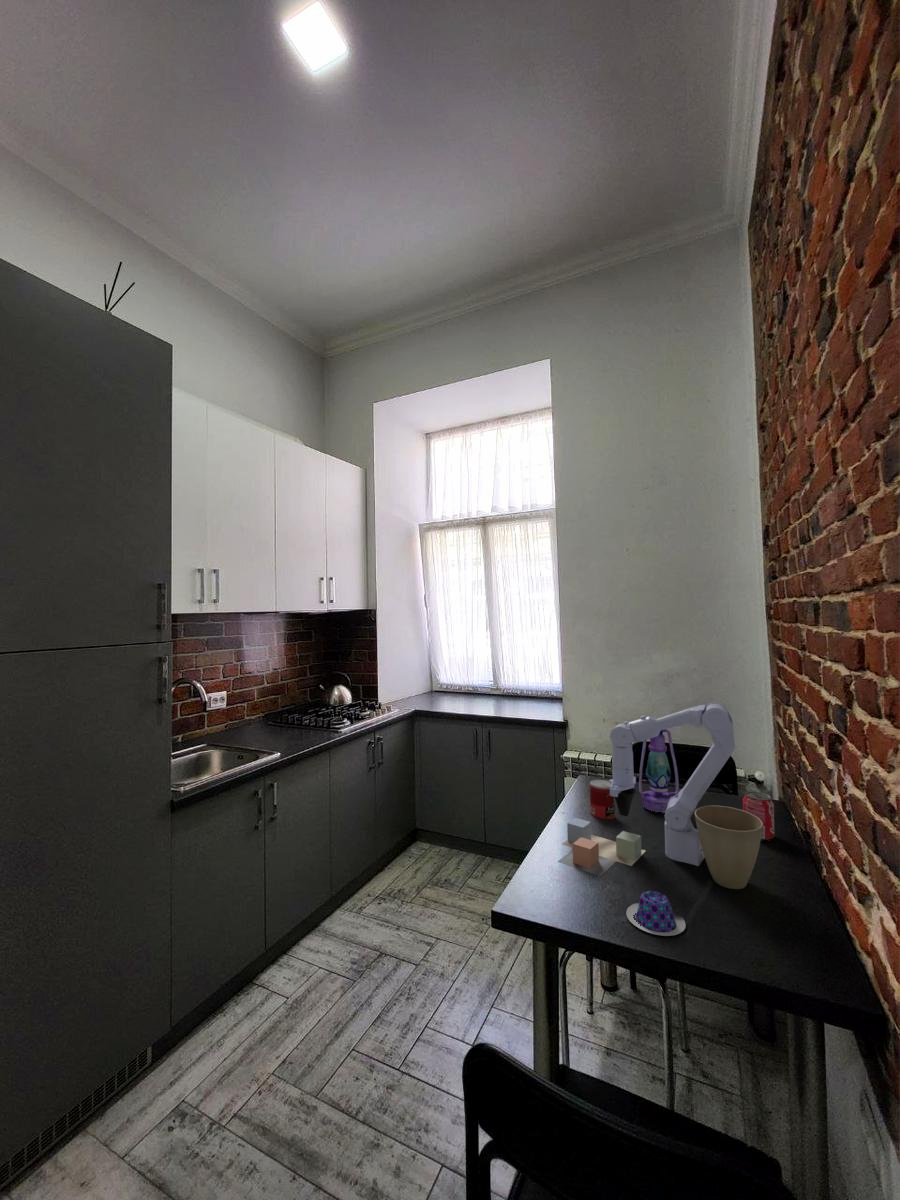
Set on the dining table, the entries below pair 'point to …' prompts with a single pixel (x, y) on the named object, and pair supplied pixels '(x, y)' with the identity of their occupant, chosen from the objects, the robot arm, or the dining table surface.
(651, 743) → the lantern
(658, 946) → the dining table surface
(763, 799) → the beverage can
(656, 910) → the patterned fedora hat
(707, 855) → the plant pot
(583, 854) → the terracotta block
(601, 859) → the board
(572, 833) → the blue block
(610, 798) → the canned food
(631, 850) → the sage block
